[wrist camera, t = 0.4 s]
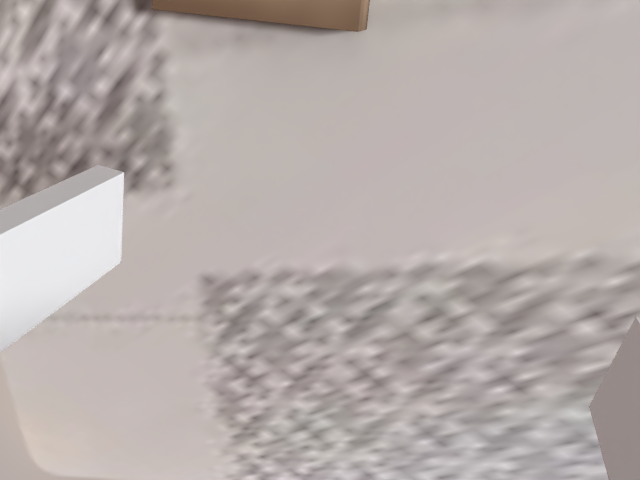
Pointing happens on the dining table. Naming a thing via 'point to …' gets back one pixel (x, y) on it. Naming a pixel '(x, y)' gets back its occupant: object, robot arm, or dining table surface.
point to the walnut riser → (280, 11)
